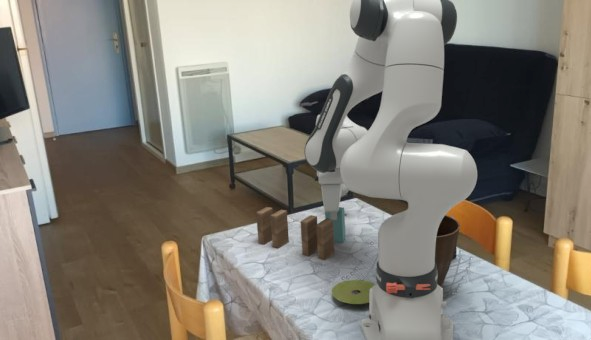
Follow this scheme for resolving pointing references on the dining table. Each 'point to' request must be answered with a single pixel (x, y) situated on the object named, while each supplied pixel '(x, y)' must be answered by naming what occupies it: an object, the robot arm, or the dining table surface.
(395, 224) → the robot arm
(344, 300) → the green disc
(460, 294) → the dining table surface
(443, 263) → the plant pot
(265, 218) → the walnut tile
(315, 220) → the walnut tile
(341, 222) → the teal tile
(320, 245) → the walnut tile
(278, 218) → the walnut tile
